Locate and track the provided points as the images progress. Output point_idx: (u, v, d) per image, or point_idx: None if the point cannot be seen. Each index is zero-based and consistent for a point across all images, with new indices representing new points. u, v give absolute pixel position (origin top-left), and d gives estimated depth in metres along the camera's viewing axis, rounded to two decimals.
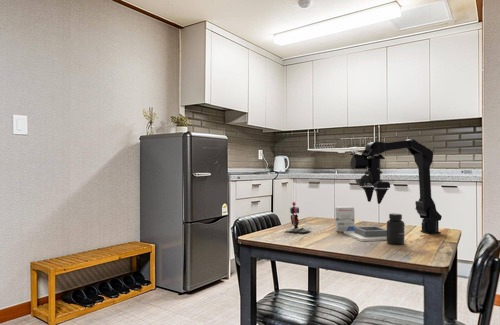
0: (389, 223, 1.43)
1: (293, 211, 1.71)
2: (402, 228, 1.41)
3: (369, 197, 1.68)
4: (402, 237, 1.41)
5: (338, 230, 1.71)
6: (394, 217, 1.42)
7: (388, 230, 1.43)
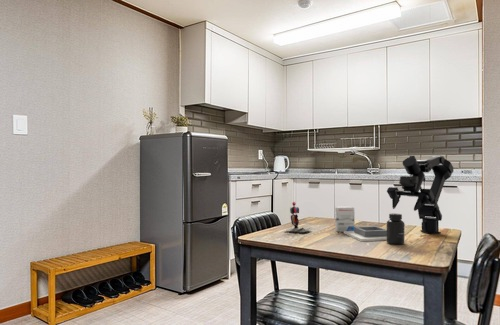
0: (389, 223, 1.43)
1: (293, 211, 1.71)
2: (402, 228, 1.41)
3: (395, 205, 1.54)
4: (402, 237, 1.41)
5: (338, 230, 1.71)
6: (394, 217, 1.42)
7: (388, 230, 1.43)
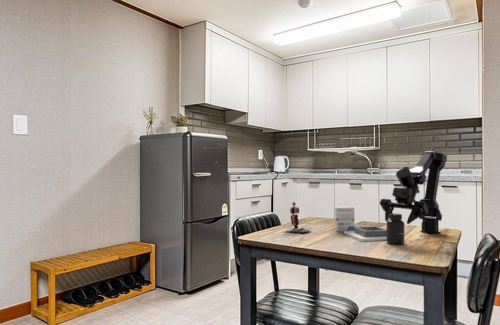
0: (389, 223, 1.43)
1: (293, 211, 1.71)
2: (402, 228, 1.41)
3: (387, 217, 1.49)
4: (402, 237, 1.41)
5: (338, 230, 1.71)
6: (394, 217, 1.42)
7: (388, 230, 1.43)
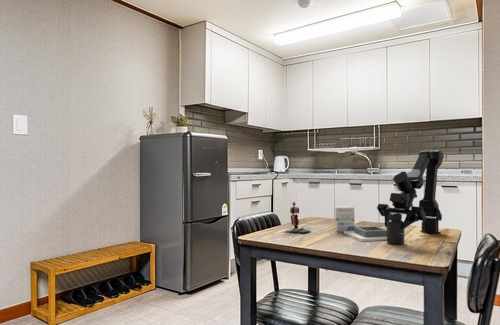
0: (389, 223, 1.43)
1: (293, 211, 1.71)
2: None
3: None
4: (402, 237, 1.41)
5: (338, 230, 1.71)
6: (394, 217, 1.42)
7: (388, 230, 1.43)
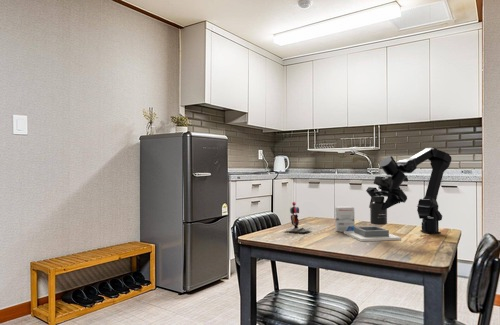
0: (371, 204, 1.52)
1: (293, 211, 1.71)
2: None
3: None
4: (383, 217, 1.50)
5: (338, 230, 1.71)
6: (375, 198, 1.51)
7: (370, 211, 1.53)
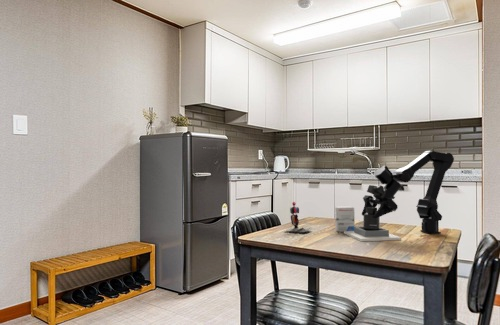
0: (364, 215, 1.59)
1: (293, 211, 1.71)
2: (374, 220, 1.55)
3: (365, 212, 1.63)
4: (374, 228, 1.55)
5: (338, 230, 1.71)
6: (367, 209, 1.57)
7: (363, 221, 1.59)
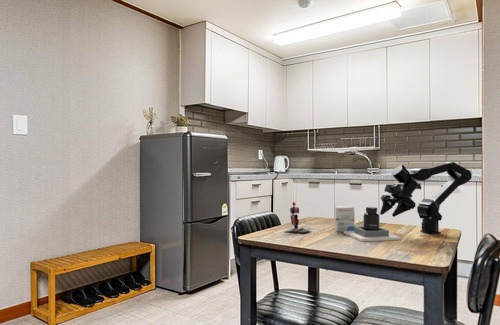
0: (364, 215, 1.59)
1: (293, 211, 1.71)
2: (374, 220, 1.55)
3: (383, 211, 1.66)
4: (374, 228, 1.55)
5: (338, 230, 1.71)
6: (367, 209, 1.58)
7: (363, 221, 1.59)
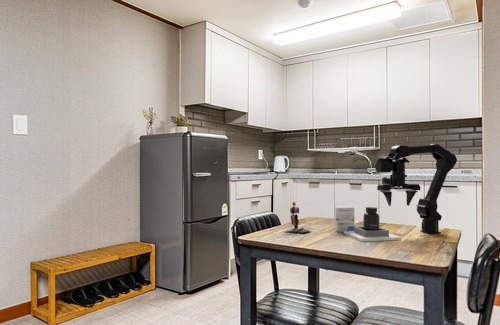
0: (364, 215, 1.59)
1: (293, 211, 1.71)
2: (374, 220, 1.55)
3: (407, 201, 1.66)
4: (374, 228, 1.55)
5: (338, 230, 1.71)
6: (367, 209, 1.58)
7: (363, 221, 1.59)
